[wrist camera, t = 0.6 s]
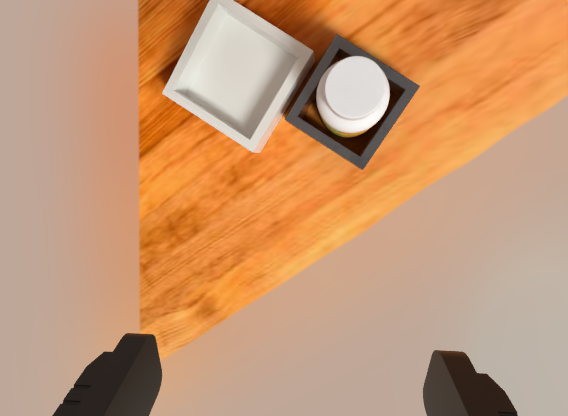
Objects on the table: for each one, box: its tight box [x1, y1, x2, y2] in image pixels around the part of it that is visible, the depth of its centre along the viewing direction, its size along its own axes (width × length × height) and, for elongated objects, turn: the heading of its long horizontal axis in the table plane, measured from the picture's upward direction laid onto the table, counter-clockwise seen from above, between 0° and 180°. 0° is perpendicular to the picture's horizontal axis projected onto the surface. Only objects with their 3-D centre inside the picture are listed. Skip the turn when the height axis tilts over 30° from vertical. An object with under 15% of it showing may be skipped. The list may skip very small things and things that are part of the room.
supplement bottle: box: [316, 56, 390, 137], centre depth 27 cm, size 5×5×10 cm
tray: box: [162, 0, 315, 153], centre depth 31 cm, size 10×10×3 cm
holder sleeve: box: [285, 34, 420, 170], centre depth 30 cm, size 8×8×3 cm
